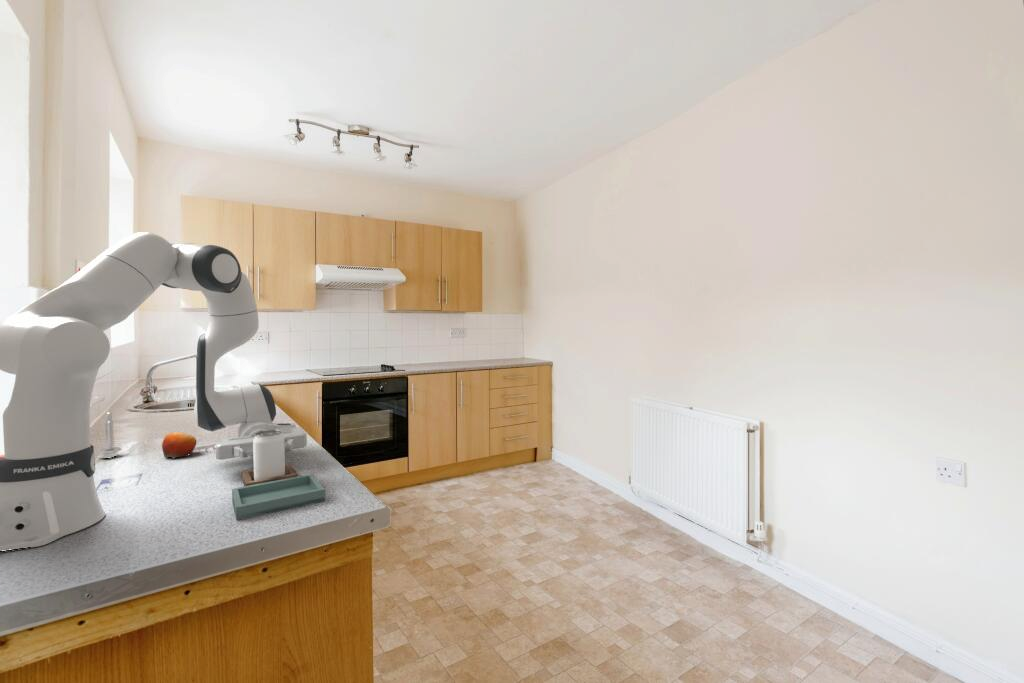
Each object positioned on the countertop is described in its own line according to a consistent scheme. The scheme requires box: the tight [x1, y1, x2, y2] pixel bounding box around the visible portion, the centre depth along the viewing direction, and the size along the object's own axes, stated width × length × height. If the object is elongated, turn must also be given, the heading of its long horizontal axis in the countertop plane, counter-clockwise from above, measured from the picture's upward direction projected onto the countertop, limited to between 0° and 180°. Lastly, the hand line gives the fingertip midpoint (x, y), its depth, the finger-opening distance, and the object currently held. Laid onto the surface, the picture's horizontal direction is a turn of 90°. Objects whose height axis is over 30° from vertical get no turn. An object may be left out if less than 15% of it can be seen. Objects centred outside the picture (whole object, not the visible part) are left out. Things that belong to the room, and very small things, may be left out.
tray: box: [231, 473, 326, 521], centre depth 95 cm, size 16×12×2 cm
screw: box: [98, 411, 122, 458], centre depth 127 cm, size 13×5×5 cm
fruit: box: [161, 431, 197, 460], centre depth 128 cm, size 8×8×8 cm
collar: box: [241, 462, 299, 487], centre depth 106 cm, size 10×10×2 cm
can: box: [252, 430, 286, 480], centre depth 106 cm, size 6×6×12 cm
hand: (266, 450), depth 108 cm, fingers open, 8 cm apart
